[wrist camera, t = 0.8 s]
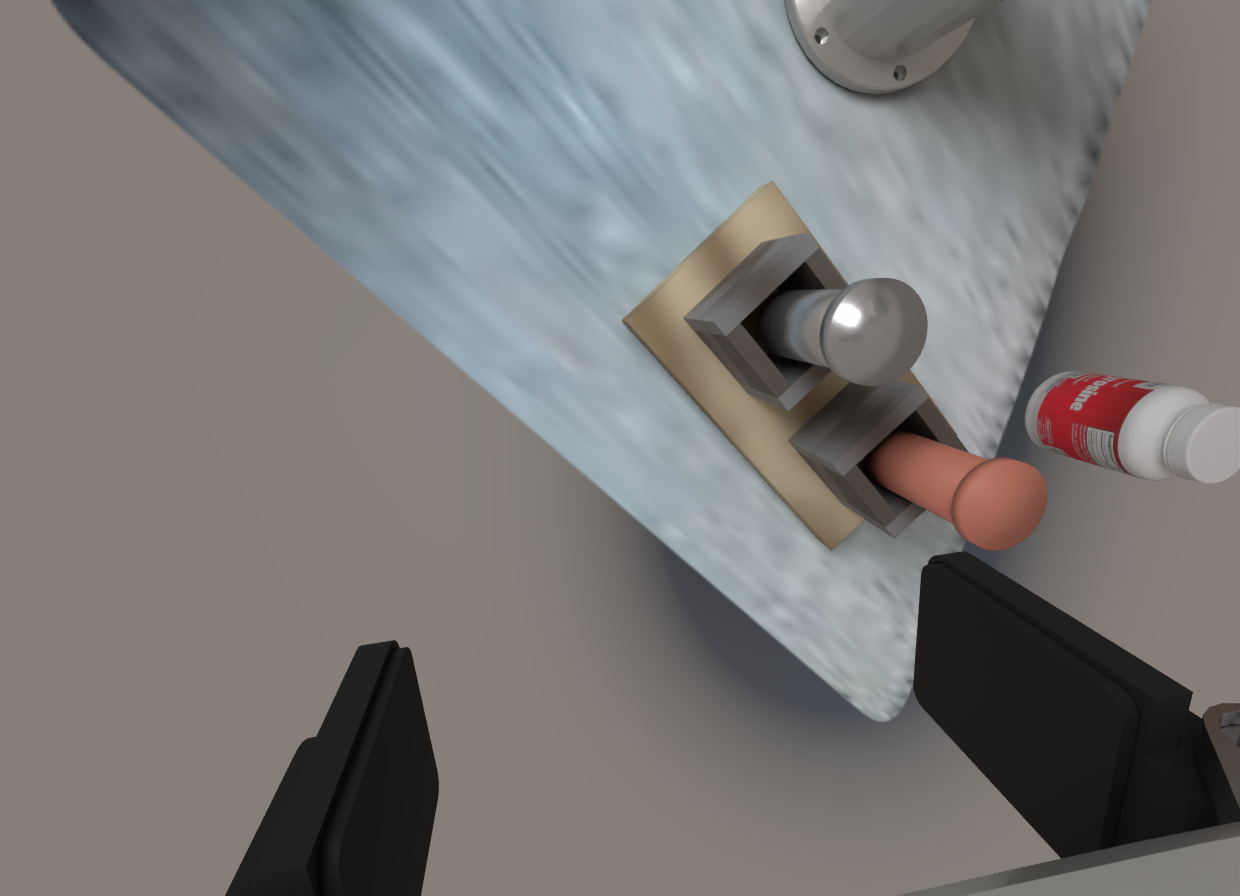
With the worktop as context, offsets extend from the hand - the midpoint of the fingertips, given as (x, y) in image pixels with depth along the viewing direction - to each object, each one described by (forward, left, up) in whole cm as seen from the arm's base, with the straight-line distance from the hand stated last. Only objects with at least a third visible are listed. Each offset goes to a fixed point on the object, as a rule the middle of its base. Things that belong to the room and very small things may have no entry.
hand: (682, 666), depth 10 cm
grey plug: (-12, +5, -22) cm, 26 cm away
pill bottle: (-26, +27, -29) cm, 48 cm away
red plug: (-12, +16, -22) cm, 30 cm away
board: (-12, +10, -29) cm, 33 cm away
